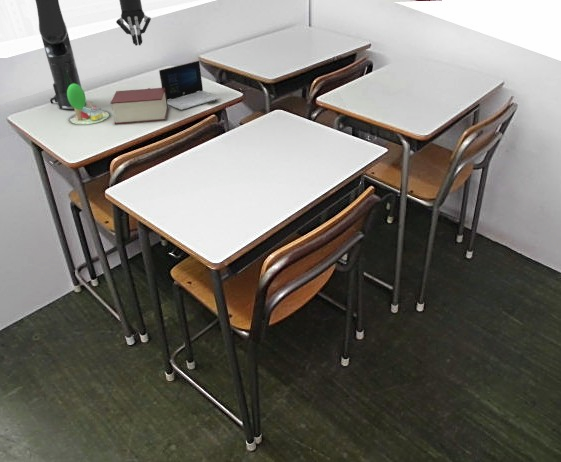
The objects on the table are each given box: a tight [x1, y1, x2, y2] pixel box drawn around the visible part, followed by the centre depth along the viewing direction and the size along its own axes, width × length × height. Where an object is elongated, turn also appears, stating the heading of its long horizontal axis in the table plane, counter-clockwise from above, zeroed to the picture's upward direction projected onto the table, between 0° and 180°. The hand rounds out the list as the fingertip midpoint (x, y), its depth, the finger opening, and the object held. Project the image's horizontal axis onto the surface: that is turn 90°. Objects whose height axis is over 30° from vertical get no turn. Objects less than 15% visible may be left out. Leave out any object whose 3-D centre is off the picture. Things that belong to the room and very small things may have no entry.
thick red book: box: [110, 87, 169, 125], centre depth 194 cm, size 18×13×8 cm
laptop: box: [158, 60, 220, 111], centre depth 203 cm, size 18×12×13 cm
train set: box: [67, 84, 110, 125], centre depth 193 cm, size 15×14×14 cm
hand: (138, 44), depth 201 cm, fingers closed
